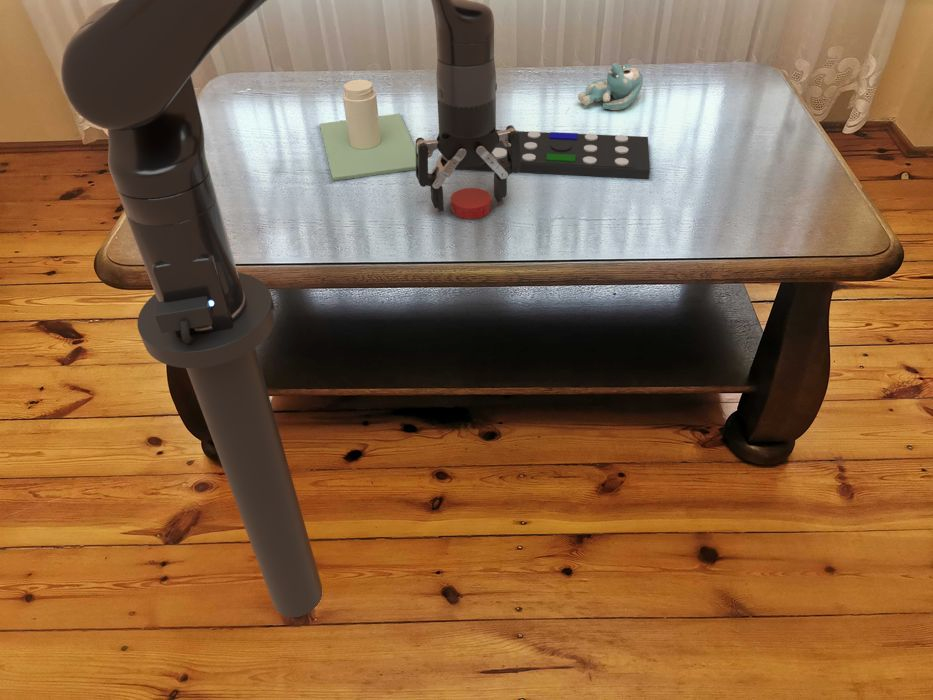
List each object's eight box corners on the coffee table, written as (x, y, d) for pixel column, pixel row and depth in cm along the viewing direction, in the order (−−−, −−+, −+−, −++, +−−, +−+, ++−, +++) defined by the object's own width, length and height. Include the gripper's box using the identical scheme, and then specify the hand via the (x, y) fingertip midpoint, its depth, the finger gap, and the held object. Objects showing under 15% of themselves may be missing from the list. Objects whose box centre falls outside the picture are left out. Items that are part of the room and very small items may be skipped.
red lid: (453, 198, 109) (453, 187, 108) (492, 199, 109) (492, 188, 107) (448, 218, 105) (448, 207, 104) (489, 220, 104) (489, 208, 103)
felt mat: (423, 168, 116) (422, 165, 116) (332, 181, 114) (332, 177, 113) (400, 116, 131) (399, 113, 130) (320, 126, 128) (319, 123, 128)
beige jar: (385, 145, 121) (379, 87, 115) (354, 152, 120) (347, 94, 113) (375, 132, 125) (368, 76, 119) (345, 139, 123) (337, 82, 117)
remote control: (460, 137, 124) (460, 125, 123) (646, 145, 120) (648, 133, 119) (449, 168, 116) (448, 157, 115) (648, 178, 112) (650, 166, 111)
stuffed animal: (563, 67, 132) (623, 43, 133) (568, 104, 137) (625, 81, 138) (594, 89, 124) (656, 63, 126) (597, 127, 129) (657, 102, 131)
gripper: (511, 75, 99) (509, 184, 110) (406, 87, 97) (414, 198, 108) (528, 96, 94) (525, 210, 105) (417, 110, 91) (425, 225, 102)
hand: (469, 204), depth 106 cm, fingers open, 8 cm apart
